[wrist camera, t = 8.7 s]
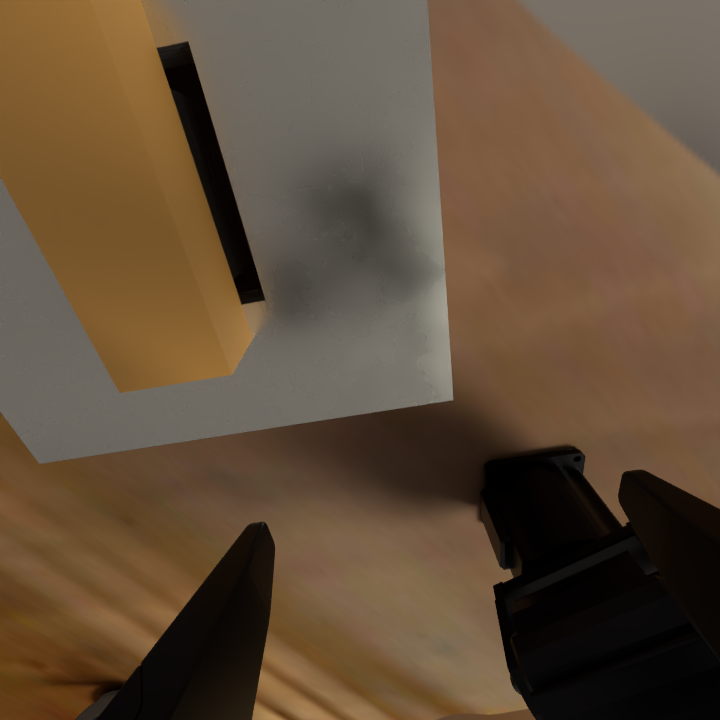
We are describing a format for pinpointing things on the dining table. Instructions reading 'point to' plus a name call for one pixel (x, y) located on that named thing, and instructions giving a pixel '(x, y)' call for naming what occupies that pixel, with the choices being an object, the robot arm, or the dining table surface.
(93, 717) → the pocket watch
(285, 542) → the dining table surface
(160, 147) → the wedge pin
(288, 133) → the rosette plate
